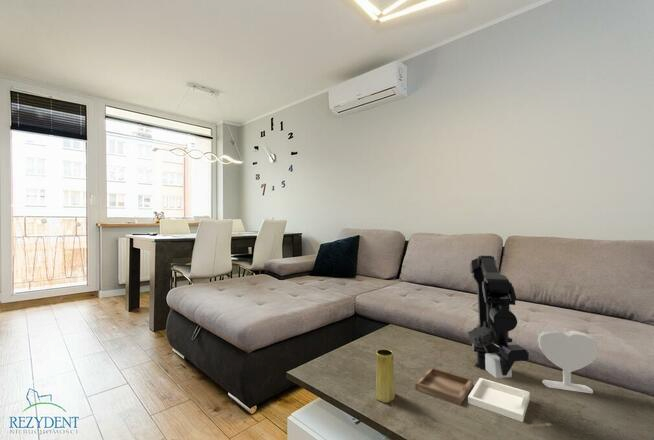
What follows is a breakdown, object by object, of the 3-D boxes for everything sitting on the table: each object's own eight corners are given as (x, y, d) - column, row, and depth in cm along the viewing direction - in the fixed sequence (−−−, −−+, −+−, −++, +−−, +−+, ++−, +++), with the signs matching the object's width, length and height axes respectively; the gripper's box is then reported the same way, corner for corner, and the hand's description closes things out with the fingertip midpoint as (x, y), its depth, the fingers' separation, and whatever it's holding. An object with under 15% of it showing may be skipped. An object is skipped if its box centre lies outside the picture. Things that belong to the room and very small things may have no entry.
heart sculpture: (592, 386, 101) (591, 331, 101) (600, 394, 96) (598, 337, 96) (537, 378, 106) (536, 326, 106) (541, 386, 101) (540, 331, 101)
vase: (395, 403, 93) (394, 357, 93) (375, 401, 94) (374, 355, 94) (395, 392, 99) (394, 348, 99) (376, 391, 100) (375, 347, 100)
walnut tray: (431, 373, 111) (431, 366, 111) (473, 386, 102) (472, 379, 102) (415, 391, 100) (415, 383, 100) (460, 407, 91) (460, 398, 91)
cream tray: (479, 385, 103) (479, 377, 103) (529, 400, 94) (529, 392, 94) (468, 405, 92) (467, 396, 92) (522, 424, 83) (522, 415, 83)
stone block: (485, 369, 95) (485, 353, 95) (500, 368, 96) (500, 352, 96) (495, 378, 90) (495, 361, 90) (511, 376, 91) (511, 360, 91)
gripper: (456, 311, 101) (457, 358, 101) (491, 332, 83) (492, 389, 83) (488, 309, 102) (489, 356, 102) (530, 330, 84) (531, 386, 84)
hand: (498, 370), depth 93 cm, fingers closed on stone block, 5 cm apart
